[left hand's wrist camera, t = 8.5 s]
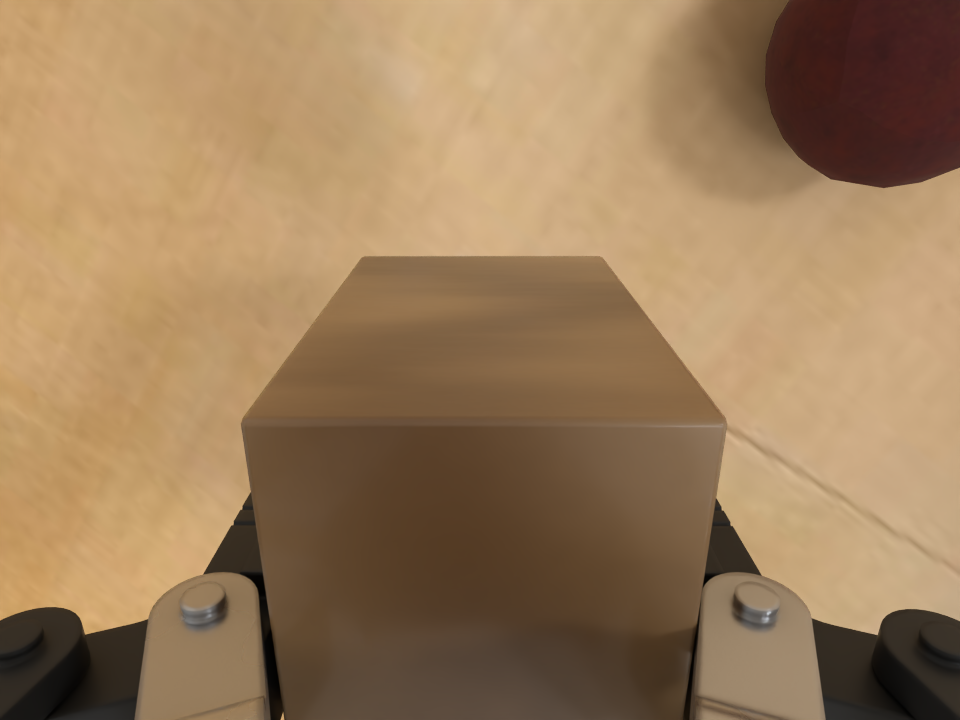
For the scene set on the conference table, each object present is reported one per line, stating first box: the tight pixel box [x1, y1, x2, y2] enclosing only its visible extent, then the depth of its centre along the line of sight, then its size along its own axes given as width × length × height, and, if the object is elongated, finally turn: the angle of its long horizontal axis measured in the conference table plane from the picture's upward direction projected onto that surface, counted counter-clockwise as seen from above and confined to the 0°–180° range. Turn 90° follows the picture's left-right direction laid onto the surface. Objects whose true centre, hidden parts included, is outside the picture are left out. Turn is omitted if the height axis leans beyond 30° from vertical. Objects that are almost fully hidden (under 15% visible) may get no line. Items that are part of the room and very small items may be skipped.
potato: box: [765, 0, 960, 188], centre depth 20 cm, size 7×8×7 cm
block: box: [241, 256, 727, 720], centre depth 11 cm, size 5×8×7 cm, turn 0°
